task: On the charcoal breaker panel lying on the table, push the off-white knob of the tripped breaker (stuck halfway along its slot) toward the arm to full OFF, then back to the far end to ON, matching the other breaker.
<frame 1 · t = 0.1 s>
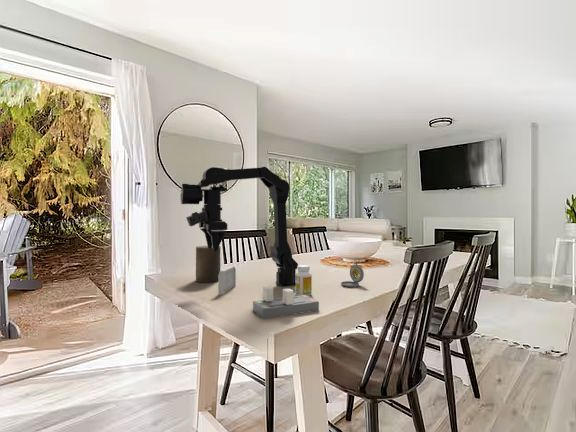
hand: (212, 249, 113), 15 cm above the table, tool pointing down, fingers open, 9 cm apart
pocket watch: (352, 286, 123), on the table
pillar candle: (208, 280, 131), on the table
breaker panel: (285, 310, 93), on the table
supplement bottle: (303, 295, 110), on the table
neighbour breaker: (268, 293, 93), point 5 cm above the table, slide at 8.0 cm
tripped breaker: (288, 296, 90), point 5 cm above the table, slide at 4.0 cm
light switch: (227, 291, 115), on the table
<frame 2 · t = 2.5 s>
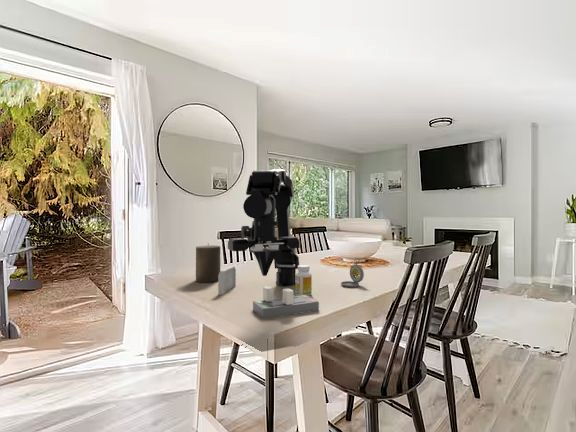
hand: (264, 275, 87), 11 cm above the table, tool pointing down, fingers closed
nothing on the table moved.
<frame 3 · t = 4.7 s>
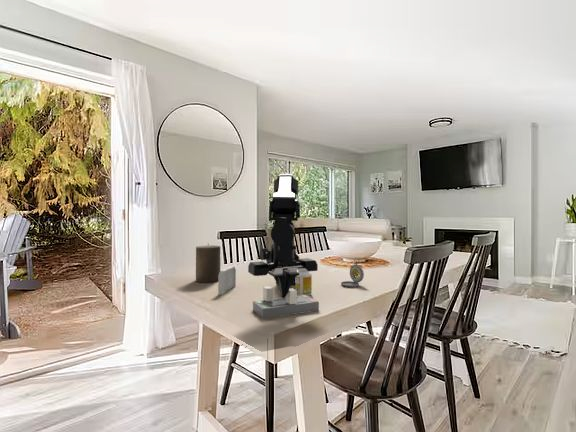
hand: (283, 297, 90), 4 cm above the table, tool pointing down, fingers closed
tripped breaker: (291, 296, 91), point 5 cm above the table, slide at 3.0 cm, touching gripper
everything else where it was.
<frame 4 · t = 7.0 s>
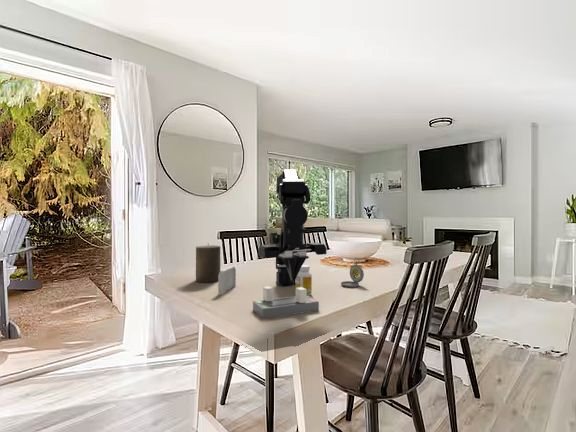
hand: (292, 280, 91), 9 cm above the table, tool pointing down, fingers closed
tripped breaker: (301, 294, 92), point 5 cm above the table, slide at -0.1 cm
everything else where it was.
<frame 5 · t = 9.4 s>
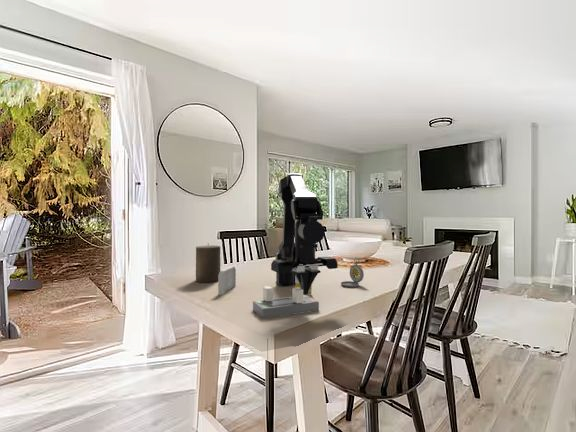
hand: (304, 294, 93), 5 cm above the table, tool pointing down, fingers closed
tripped breaker: (297, 295, 92), point 5 cm above the table, slide at 1.0 cm, touching gripper
everything else where it was.
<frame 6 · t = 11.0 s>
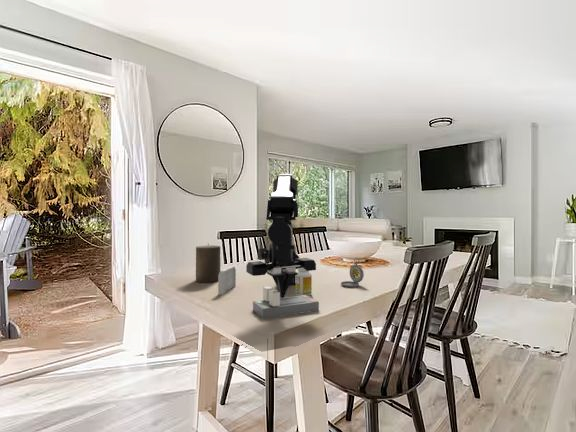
hand: (281, 297, 90), 5 cm above the table, tool pointing down, fingers closed
tripped breaker: (274, 298, 89), point 5 cm above the table, slide at 8.1 cm, touching gripper
everything else where it was.
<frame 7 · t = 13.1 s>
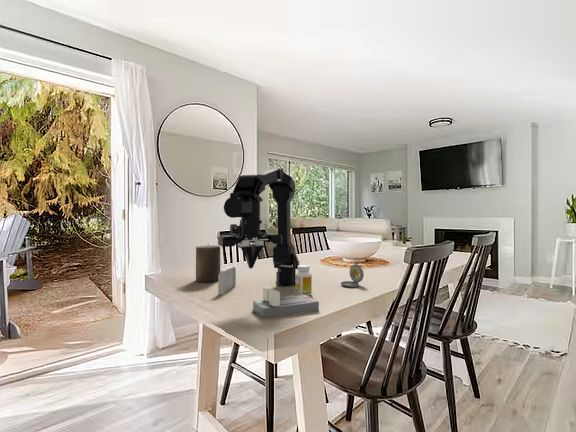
hand: (250, 268, 98), 11 cm above the table, tool pointing down, fingers closed
tripped breaker: (274, 298, 89), point 5 cm above the table, slide at 8.1 cm
everything else where it was.
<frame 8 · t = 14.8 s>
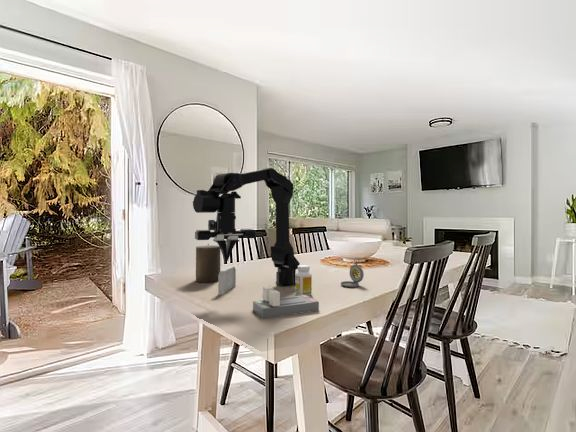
hand: (226, 261, 105), 12 cm above the table, tool pointing down, fingers closed
nothing on the table moved.
at the end: tripped breaker slide at 8.1 cm; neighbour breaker slide at 8.0 cm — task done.
